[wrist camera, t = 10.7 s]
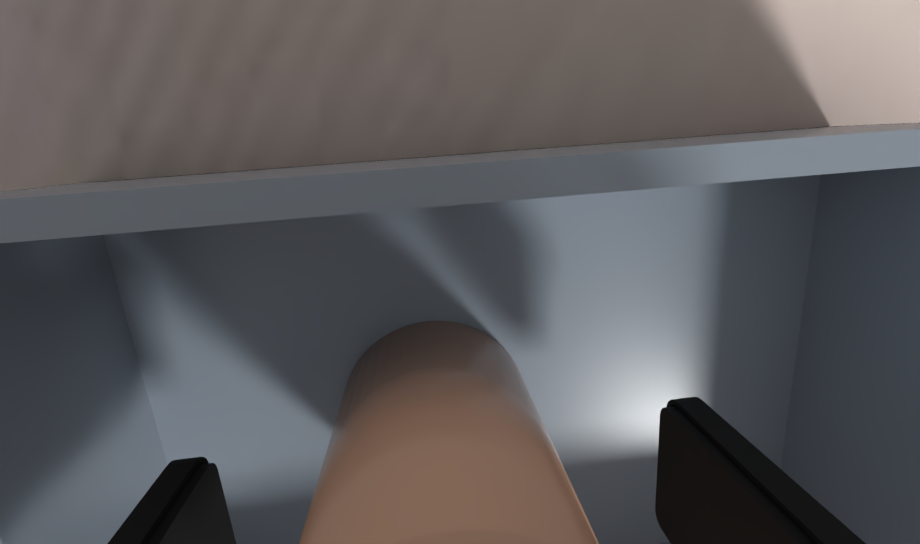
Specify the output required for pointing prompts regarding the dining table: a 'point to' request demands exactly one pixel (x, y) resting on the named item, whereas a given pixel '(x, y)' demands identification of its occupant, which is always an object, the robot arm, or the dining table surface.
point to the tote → (470, 319)
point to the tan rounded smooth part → (441, 450)
